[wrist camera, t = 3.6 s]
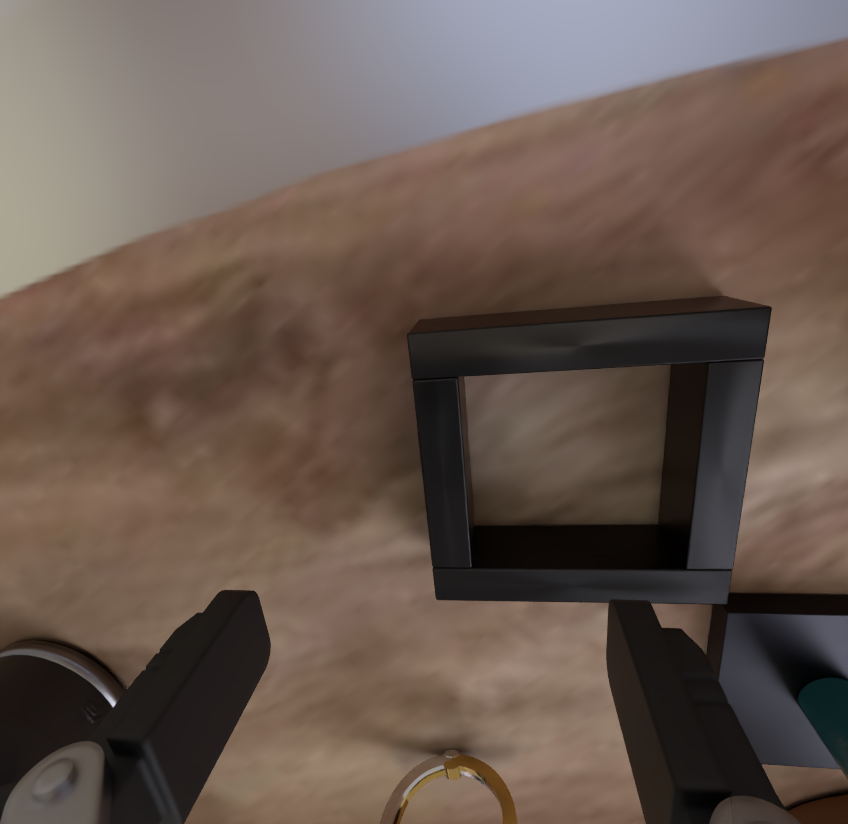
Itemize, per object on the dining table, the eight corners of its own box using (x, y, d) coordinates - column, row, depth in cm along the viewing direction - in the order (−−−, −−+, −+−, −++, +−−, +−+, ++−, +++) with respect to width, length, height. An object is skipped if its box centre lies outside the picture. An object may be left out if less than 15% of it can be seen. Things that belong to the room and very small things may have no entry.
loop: (442, 555, 22) (435, 600, 19) (419, 319, 18) (406, 333, 15) (694, 555, 20) (728, 605, 17) (724, 295, 16) (773, 306, 14)
